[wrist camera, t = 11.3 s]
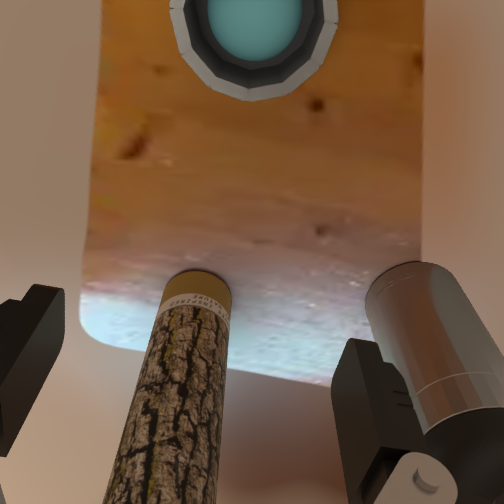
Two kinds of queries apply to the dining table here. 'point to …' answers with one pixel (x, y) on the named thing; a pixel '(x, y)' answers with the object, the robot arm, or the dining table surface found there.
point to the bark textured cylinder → (177, 400)
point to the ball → (254, 26)
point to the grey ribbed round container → (253, 72)
